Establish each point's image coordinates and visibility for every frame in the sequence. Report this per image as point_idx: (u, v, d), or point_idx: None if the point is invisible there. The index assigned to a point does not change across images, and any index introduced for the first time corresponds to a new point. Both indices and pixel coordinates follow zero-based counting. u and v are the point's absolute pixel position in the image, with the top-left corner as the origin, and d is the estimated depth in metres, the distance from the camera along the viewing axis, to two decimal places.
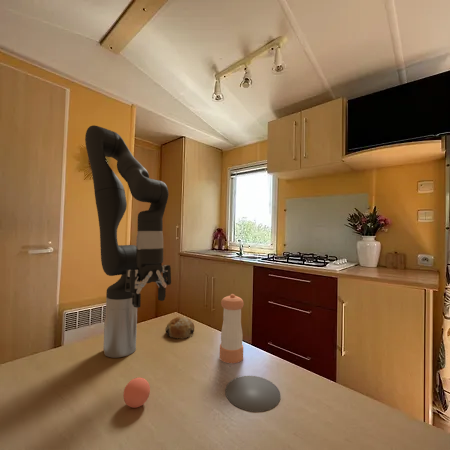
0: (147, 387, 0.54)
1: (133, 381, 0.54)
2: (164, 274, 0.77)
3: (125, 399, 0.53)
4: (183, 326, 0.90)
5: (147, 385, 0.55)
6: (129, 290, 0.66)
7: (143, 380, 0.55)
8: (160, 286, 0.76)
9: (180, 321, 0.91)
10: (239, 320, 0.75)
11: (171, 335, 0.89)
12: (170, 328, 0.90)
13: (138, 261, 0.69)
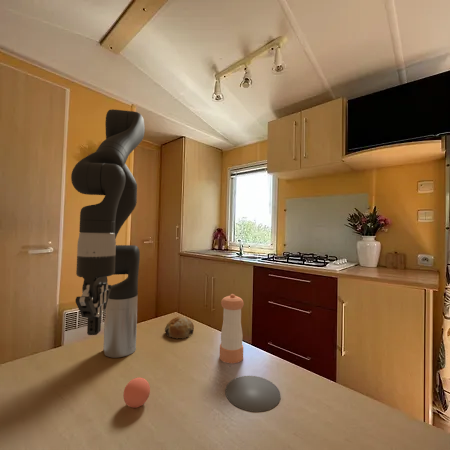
0: (147, 387, 0.54)
1: (133, 381, 0.54)
2: None
3: (125, 399, 0.53)
4: (182, 326, 0.90)
5: (147, 385, 0.55)
6: None
7: (143, 380, 0.55)
8: None
9: (179, 321, 0.91)
10: (239, 320, 0.75)
11: (170, 335, 0.89)
12: (169, 328, 0.90)
13: None
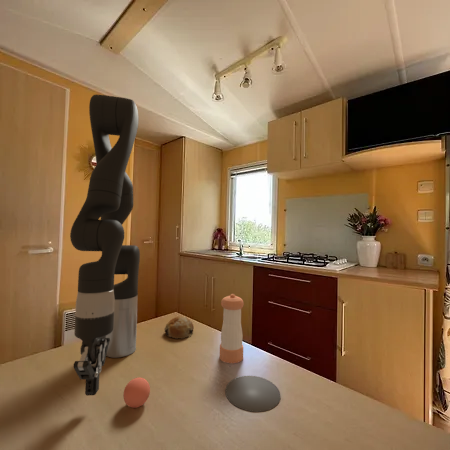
0: (147, 387, 0.54)
1: (133, 381, 0.54)
2: None
3: (125, 399, 0.53)
4: (182, 326, 0.90)
5: (147, 385, 0.55)
6: None
7: (143, 380, 0.55)
8: None
9: (179, 321, 0.91)
10: (239, 320, 0.75)
11: (170, 335, 0.89)
12: (169, 328, 0.90)
13: None
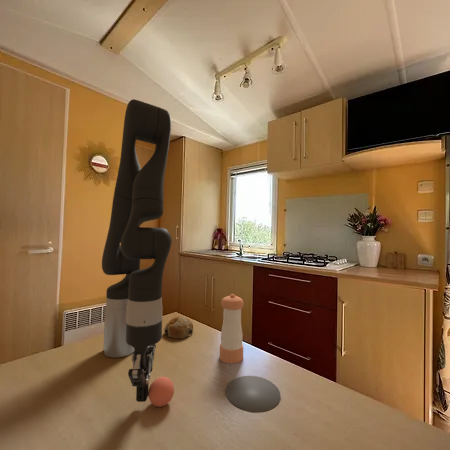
0: None
1: (172, 387, 0.55)
2: None
3: (158, 388, 0.53)
4: (182, 326, 0.90)
5: None
6: None
7: None
8: None
9: (179, 321, 0.91)
10: (239, 320, 0.75)
11: (170, 335, 0.89)
12: (169, 328, 0.90)
13: None
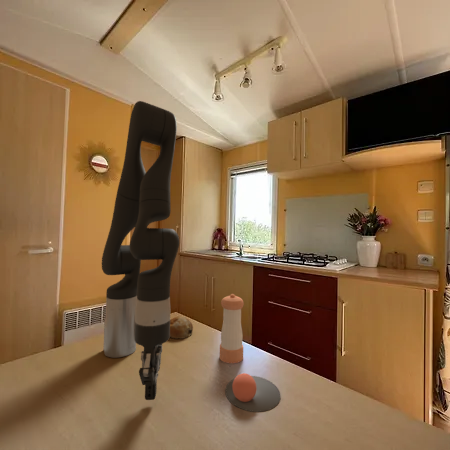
0: None
1: None
2: None
3: (248, 384, 0.56)
4: (181, 326, 0.90)
5: None
6: None
7: None
8: None
9: (178, 321, 0.91)
10: (239, 320, 0.75)
11: None
12: None
13: None
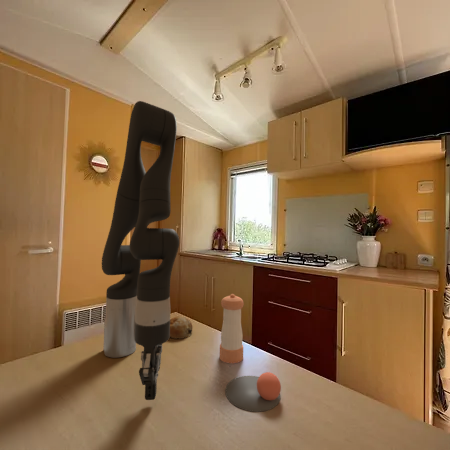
0: (259, 383, 0.57)
1: (262, 397, 0.57)
2: None
3: (276, 396, 0.56)
4: (181, 326, 0.90)
5: (258, 383, 0.57)
6: None
7: (257, 388, 0.58)
8: None
9: (178, 321, 0.91)
10: (239, 320, 0.75)
11: None
12: None
13: None
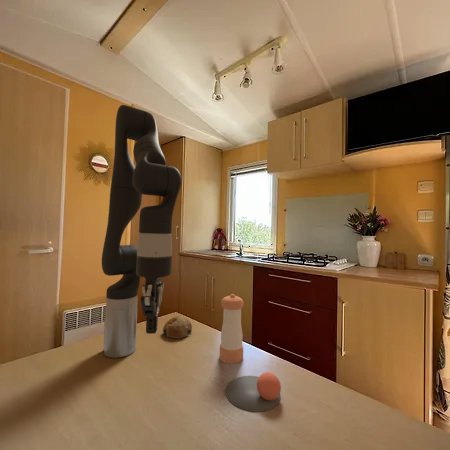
0: (259, 383, 0.57)
1: (262, 397, 0.57)
2: None
3: (276, 396, 0.56)
4: (180, 326, 0.90)
5: (258, 383, 0.57)
6: None
7: (257, 388, 0.58)
8: None
9: (177, 321, 0.91)
10: (239, 320, 0.75)
11: (168, 335, 0.89)
12: (167, 328, 0.90)
13: None
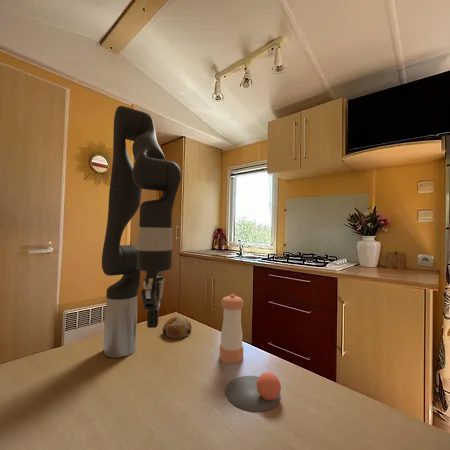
0: (259, 383, 0.57)
1: (262, 397, 0.57)
2: None
3: (276, 396, 0.56)
4: (180, 326, 0.90)
5: (258, 383, 0.57)
6: None
7: (257, 388, 0.58)
8: None
9: (177, 321, 0.91)
10: (239, 320, 0.75)
11: (168, 335, 0.89)
12: (167, 328, 0.90)
13: None
